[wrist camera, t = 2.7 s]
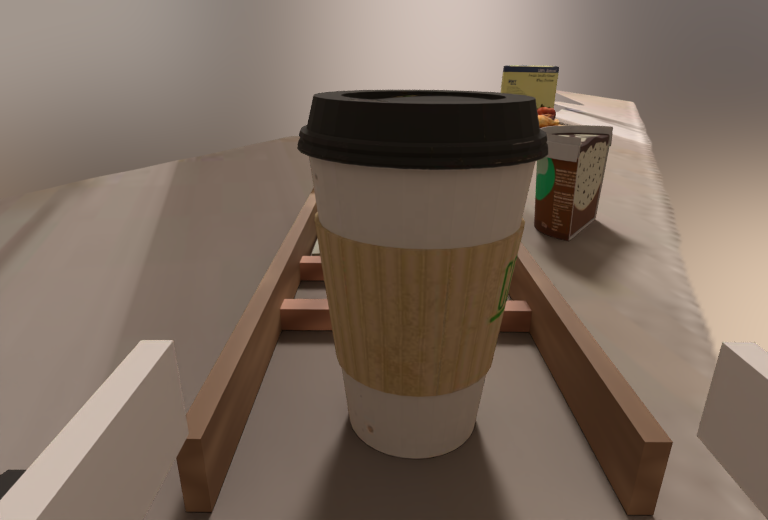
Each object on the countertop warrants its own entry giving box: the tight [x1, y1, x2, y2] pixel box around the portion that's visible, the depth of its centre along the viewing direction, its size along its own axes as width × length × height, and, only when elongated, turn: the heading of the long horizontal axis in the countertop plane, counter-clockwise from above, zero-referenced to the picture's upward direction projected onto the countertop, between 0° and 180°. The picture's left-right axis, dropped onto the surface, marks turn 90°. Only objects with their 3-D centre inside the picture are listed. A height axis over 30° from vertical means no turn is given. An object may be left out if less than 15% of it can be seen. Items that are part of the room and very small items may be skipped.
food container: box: [534, 125, 613, 241], centre depth 53 cm, size 12×6×10 cm, turn 144°
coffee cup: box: [297, 90, 548, 459], centre depth 22 cm, size 10×10×15 cm
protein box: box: [501, 66, 559, 109], centre depth 151 cm, size 10×16×16 cm
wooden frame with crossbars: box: [176, 185, 673, 515], centre depth 37 cm, size 18×40×6 cm, turn 0°
